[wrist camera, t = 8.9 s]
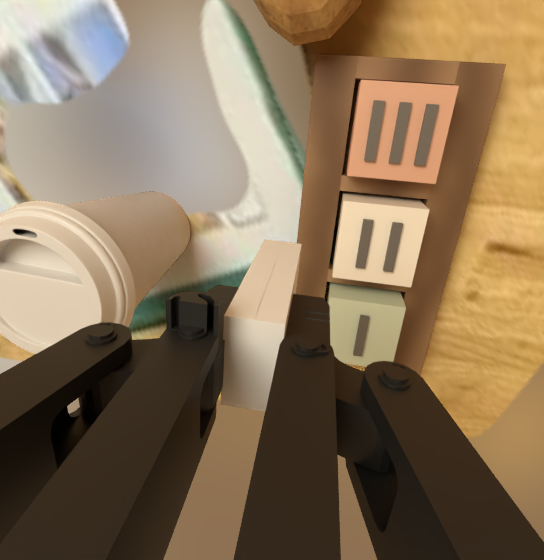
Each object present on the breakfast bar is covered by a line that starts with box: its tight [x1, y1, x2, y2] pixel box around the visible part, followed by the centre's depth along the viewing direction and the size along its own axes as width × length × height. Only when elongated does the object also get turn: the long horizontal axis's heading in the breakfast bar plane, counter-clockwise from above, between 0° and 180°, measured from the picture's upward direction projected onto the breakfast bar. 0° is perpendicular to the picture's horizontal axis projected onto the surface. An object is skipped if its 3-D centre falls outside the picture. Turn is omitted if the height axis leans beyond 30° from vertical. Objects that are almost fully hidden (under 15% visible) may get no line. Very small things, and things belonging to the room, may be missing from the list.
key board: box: [296, 54, 506, 375], centre depth 30 cm, size 12×24×2 cm, turn 175°
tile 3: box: [346, 80, 459, 184], centre depth 26 cm, size 6×6×4 cm
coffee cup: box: [0, 191, 190, 354], centre depth 27 cm, size 10×10×15 cm
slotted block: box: [327, 282, 406, 367], centre depth 32 cm, size 6×6×4 cm
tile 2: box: [332, 192, 429, 287], centre depth 29 cm, size 6×6×4 cm
